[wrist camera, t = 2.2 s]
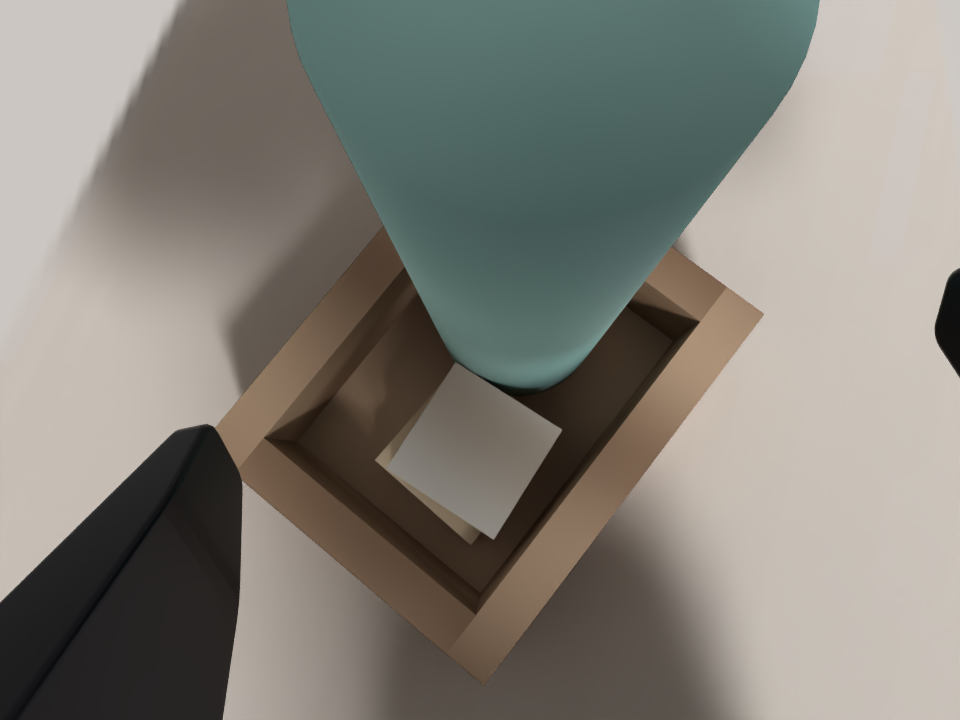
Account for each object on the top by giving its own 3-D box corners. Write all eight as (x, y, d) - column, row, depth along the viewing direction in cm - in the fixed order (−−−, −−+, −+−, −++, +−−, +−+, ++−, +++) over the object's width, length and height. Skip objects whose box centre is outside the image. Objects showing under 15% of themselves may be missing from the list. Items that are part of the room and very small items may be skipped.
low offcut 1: (494, 534, 16) (493, 539, 15) (394, 468, 16) (386, 468, 15) (558, 432, 16) (562, 430, 15) (459, 369, 17) (455, 361, 16)
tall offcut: (531, 427, 18) (601, 332, 5) (410, 332, 18) (177, 13, 5) (626, 306, 18) (928, -85, 5) (505, 216, 18) (504, -348, 6)
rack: (487, 644, 18) (483, 685, 14) (253, 448, 19) (200, 445, 15) (718, 339, 19) (764, 313, 15) (484, 167, 20) (480, 108, 16)
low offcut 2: (473, 539, 17) (470, 545, 16) (383, 460, 18) (374, 460, 16) (550, 447, 18) (553, 446, 16) (460, 371, 18) (457, 364, 17)
